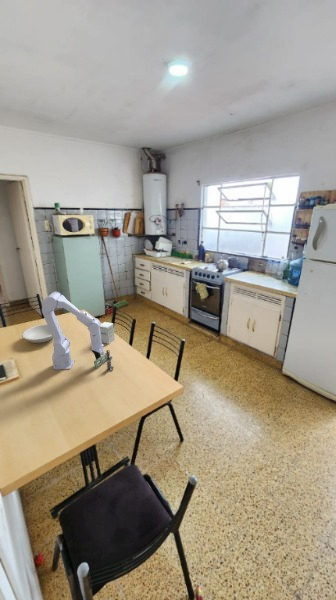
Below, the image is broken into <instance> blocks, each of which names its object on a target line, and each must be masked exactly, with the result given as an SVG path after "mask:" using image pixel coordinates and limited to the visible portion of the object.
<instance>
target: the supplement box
mask: <svg viewBox="0 0 336 600" xmlns="http://www.w3.org/2000/svg"><path fill="white" fill-rule="evenodd" d="M100 332H101V341H102V344H108V345H110V344H111V343H112V342H114V341H115V337H116V336H115V327H114V323H113V322H107V321H104V322H102V323H100Z"/></svg>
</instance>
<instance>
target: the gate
mask: <svg viewBox="0 0 336 600" xmlns="http://www.w3.org/2000/svg"><path fill="white" fill-rule="evenodd" d="M107 359H108V357H107V353H106V352H104V355H101V357H100V358H98V359H97V360H96V359H95V360H94V361H93V363H94V369H97V368H98V367H100V366H101V365H102V364H103V363H105V362H107Z"/></svg>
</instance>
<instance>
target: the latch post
mask: <svg viewBox="0 0 336 600" xmlns="http://www.w3.org/2000/svg"><path fill="white" fill-rule="evenodd" d="M106 366H107V369H106V371H107V372H113V371H114V366H112V359H111V360H106Z"/></svg>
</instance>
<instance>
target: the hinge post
mask: <svg viewBox="0 0 336 600" xmlns="http://www.w3.org/2000/svg"><path fill="white" fill-rule="evenodd" d="M105 353H107V357H108V359H107V360H111V361H112V358H113V356H110V355H111V354H110V349H109V350H108V349H107V350H106V351H105ZM107 360H106V361H107Z"/></svg>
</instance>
